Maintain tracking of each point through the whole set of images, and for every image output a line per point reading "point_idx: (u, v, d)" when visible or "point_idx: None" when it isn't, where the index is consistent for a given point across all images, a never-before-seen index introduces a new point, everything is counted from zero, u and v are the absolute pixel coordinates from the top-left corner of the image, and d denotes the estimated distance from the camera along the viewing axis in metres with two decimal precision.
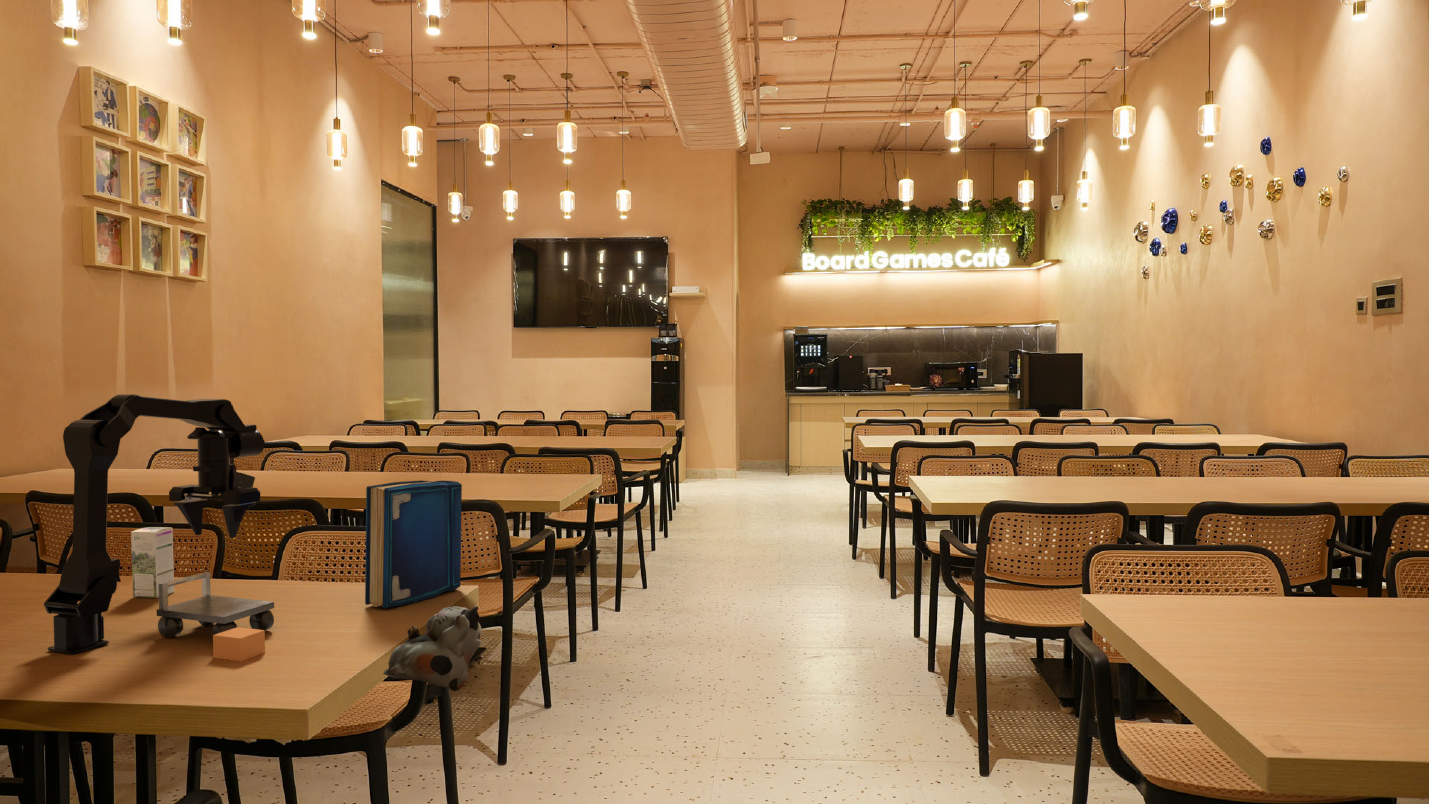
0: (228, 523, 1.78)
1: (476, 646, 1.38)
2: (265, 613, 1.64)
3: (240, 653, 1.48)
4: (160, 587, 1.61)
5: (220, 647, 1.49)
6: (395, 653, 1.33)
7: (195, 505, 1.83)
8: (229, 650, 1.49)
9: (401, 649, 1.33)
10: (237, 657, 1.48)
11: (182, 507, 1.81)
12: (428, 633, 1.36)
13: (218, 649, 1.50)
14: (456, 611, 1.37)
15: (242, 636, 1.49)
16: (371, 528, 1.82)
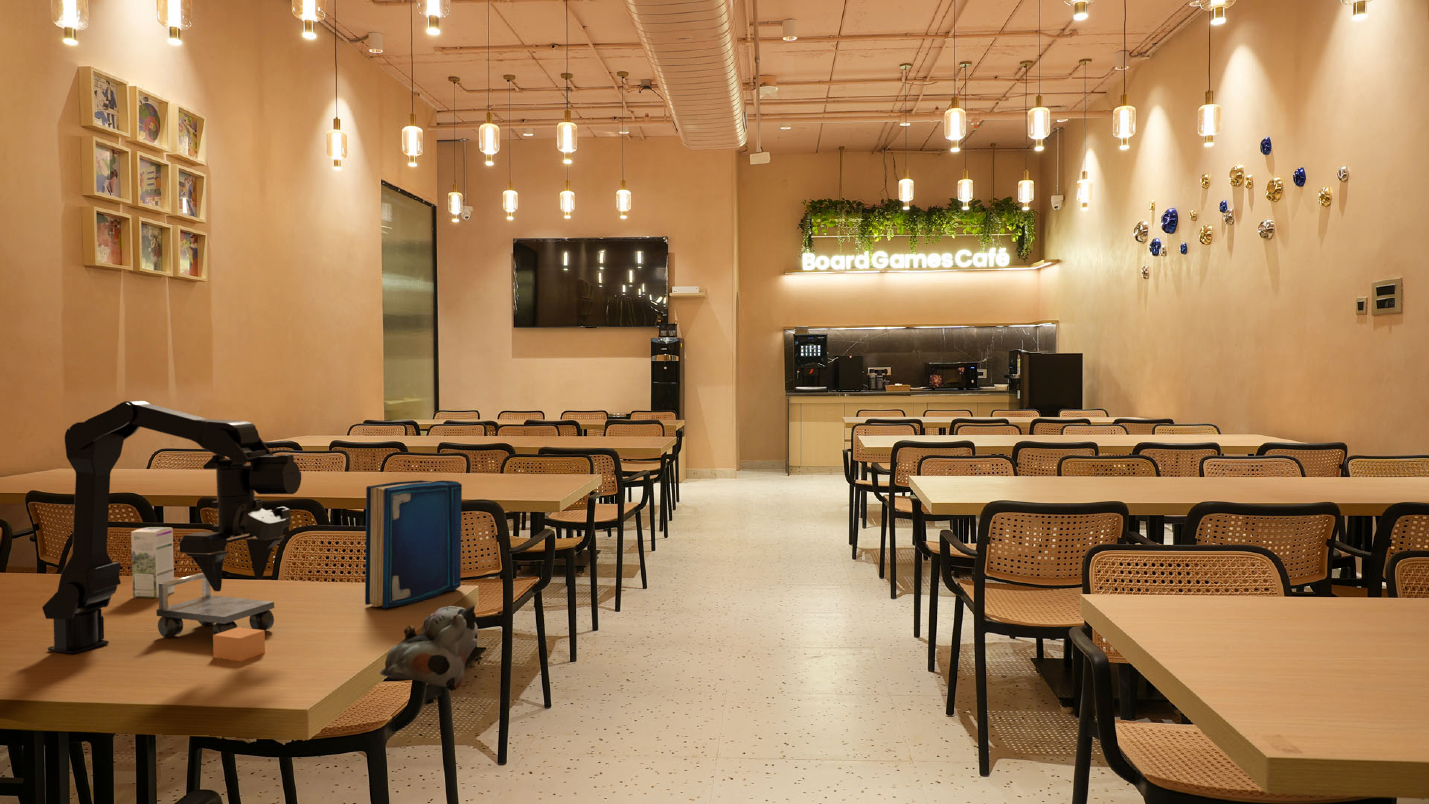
0: None
1: (473, 645, 1.38)
2: (265, 613, 1.64)
3: (240, 653, 1.48)
4: (160, 587, 1.61)
5: (220, 647, 1.49)
6: (392, 653, 1.33)
7: (258, 543, 1.58)
8: (229, 650, 1.49)
9: (398, 648, 1.33)
10: (237, 657, 1.48)
11: None
12: (425, 633, 1.36)
13: (218, 649, 1.50)
14: (453, 611, 1.38)
15: (242, 636, 1.49)
16: (371, 528, 1.82)
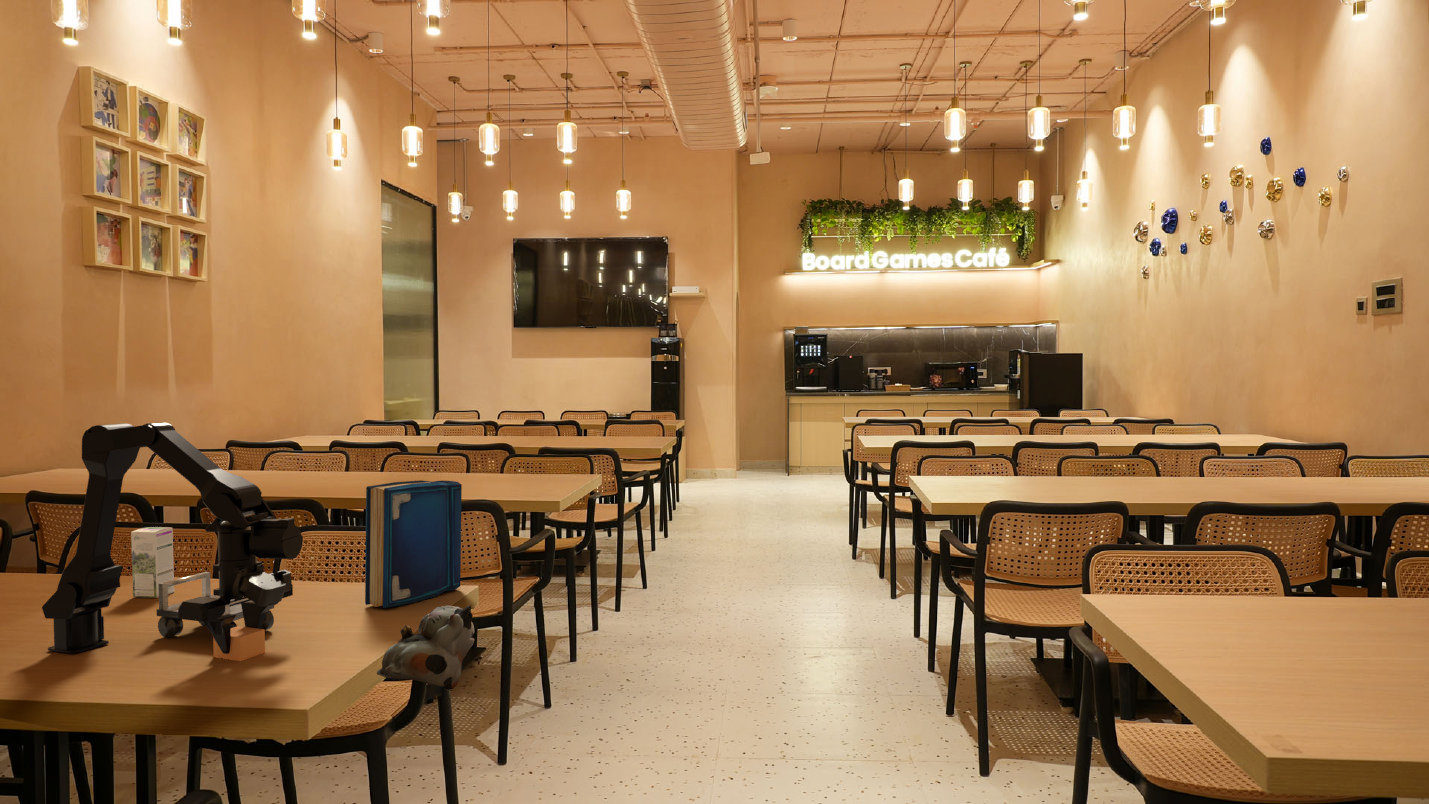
0: None
1: (469, 645, 1.39)
2: None
3: (239, 652, 1.48)
4: (160, 587, 1.61)
5: None
6: (389, 653, 1.33)
7: (252, 608, 1.54)
8: None
9: (395, 648, 1.33)
10: (237, 656, 1.48)
11: None
12: (422, 632, 1.36)
13: (218, 647, 1.50)
14: (449, 610, 1.38)
15: (242, 635, 1.49)
16: (371, 528, 1.82)
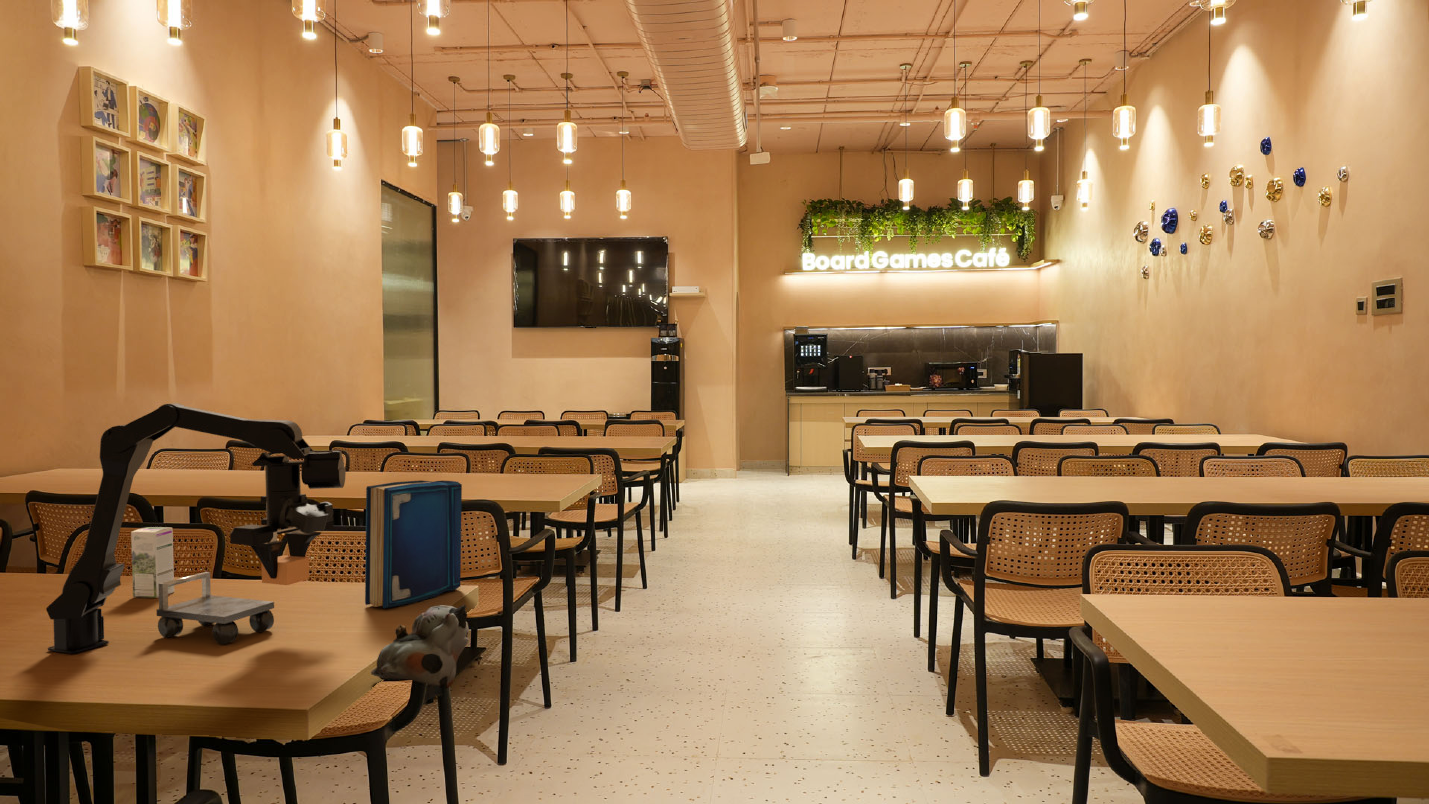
0: None
1: (464, 644, 1.39)
2: (265, 613, 1.64)
3: (286, 577, 1.58)
4: (160, 587, 1.61)
5: None
6: (384, 652, 1.33)
7: (297, 538, 1.65)
8: None
9: (390, 648, 1.33)
10: (284, 581, 1.59)
11: None
12: (416, 632, 1.36)
13: (266, 573, 1.60)
14: (444, 610, 1.38)
15: (288, 561, 1.59)
16: (371, 528, 1.82)
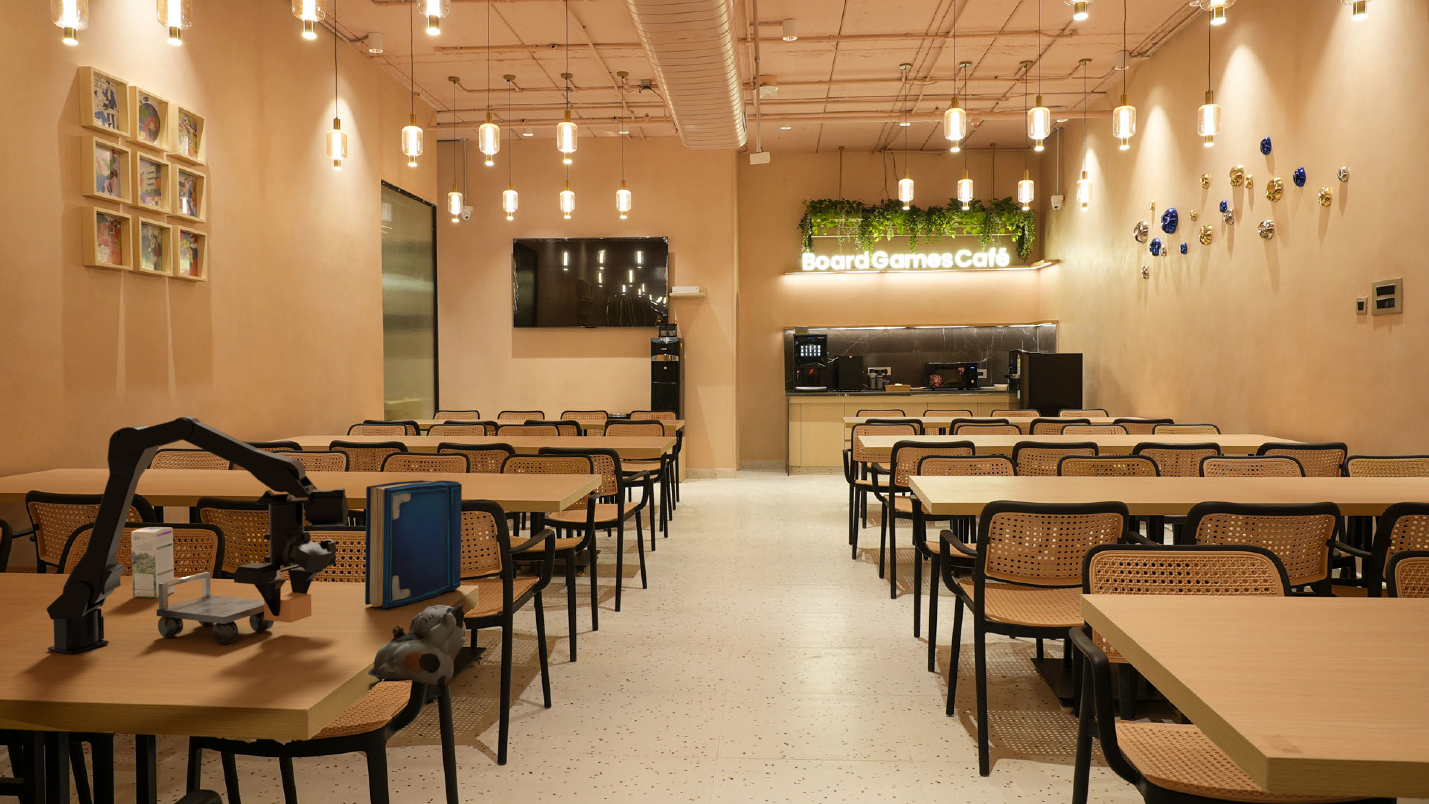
0: None
1: (461, 644, 1.39)
2: None
3: (289, 615, 1.60)
4: (160, 587, 1.61)
5: None
6: (381, 652, 1.33)
7: (299, 575, 1.66)
8: None
9: (388, 648, 1.33)
10: (287, 618, 1.60)
11: None
12: (414, 632, 1.36)
13: (268, 610, 1.61)
14: (441, 609, 1.38)
15: (291, 599, 1.61)
16: (371, 528, 1.82)
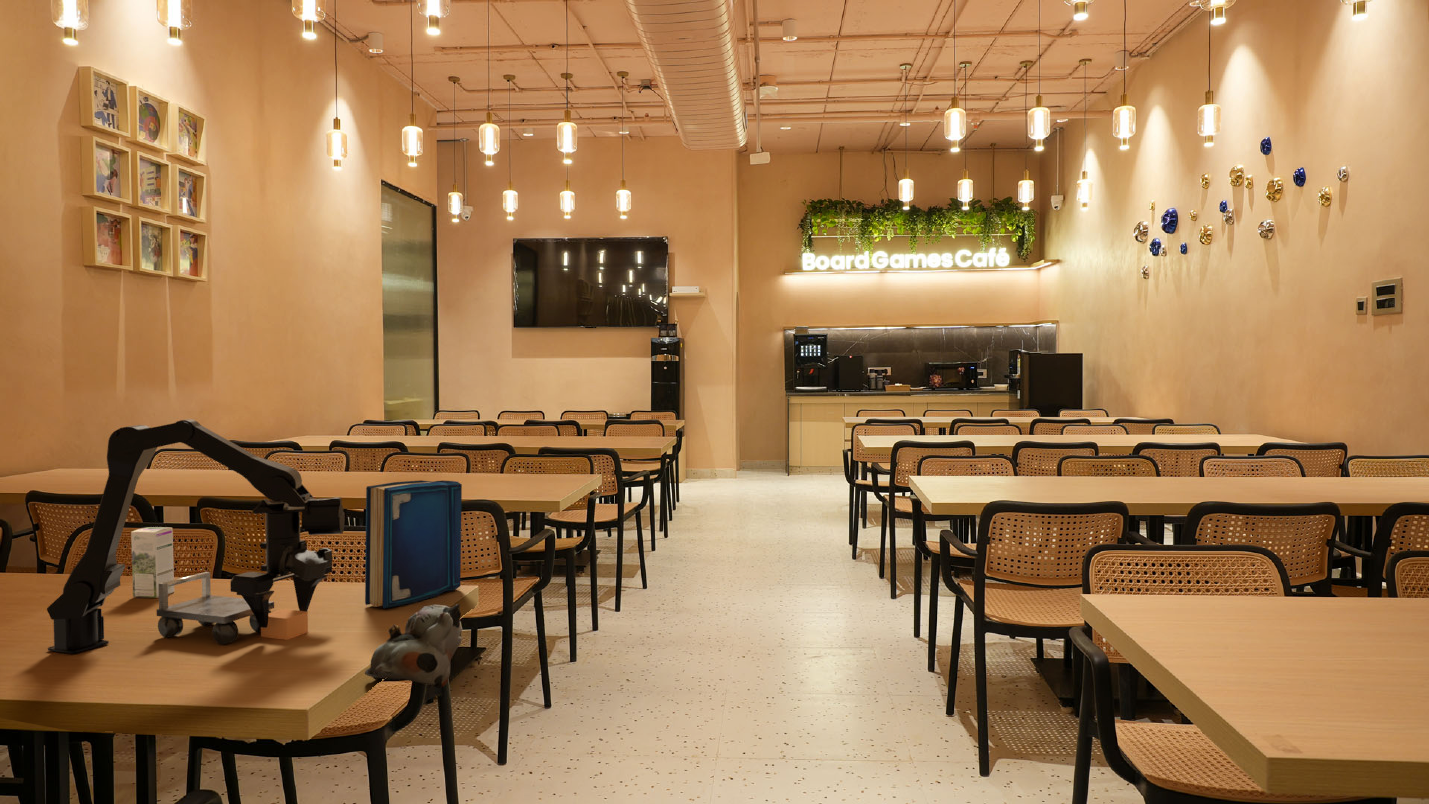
0: None
1: (458, 643, 1.39)
2: None
3: (286, 632, 1.60)
4: (160, 587, 1.61)
5: (267, 627, 1.61)
6: (378, 652, 1.33)
7: (303, 581, 1.68)
8: (276, 629, 1.61)
9: (385, 648, 1.33)
10: (283, 636, 1.60)
11: None
12: (410, 632, 1.36)
13: (265, 628, 1.62)
14: (438, 609, 1.39)
15: (288, 617, 1.61)
16: (371, 528, 1.82)
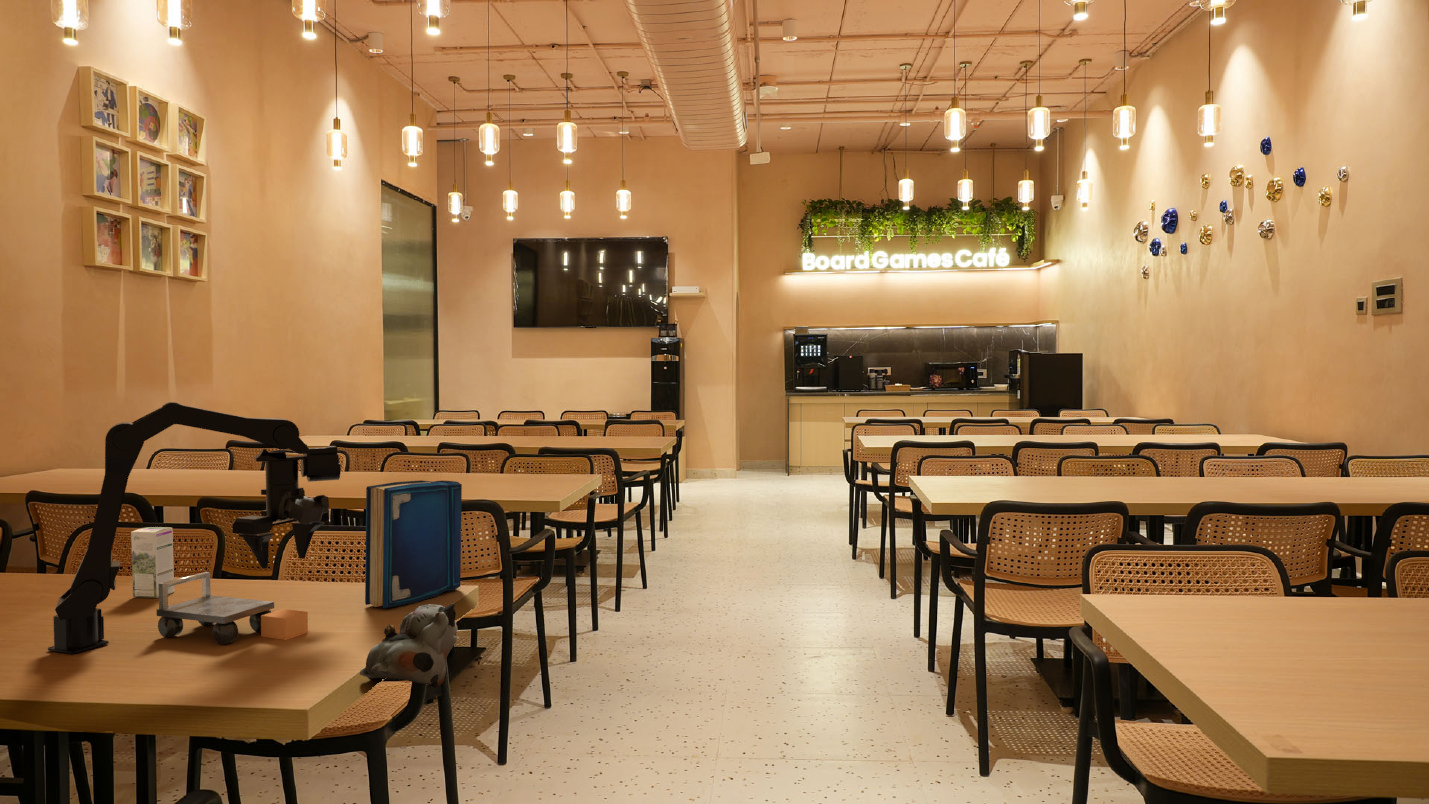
0: None
1: (453, 642, 1.40)
2: (265, 613, 1.64)
3: (285, 632, 1.60)
4: (160, 587, 1.61)
5: (267, 626, 1.62)
6: (374, 652, 1.33)
7: (302, 527, 1.78)
8: (275, 629, 1.61)
9: (380, 647, 1.34)
10: (283, 636, 1.60)
11: None
12: (406, 631, 1.37)
13: (265, 628, 1.62)
14: (433, 609, 1.39)
15: (287, 617, 1.61)
16: (371, 528, 1.82)
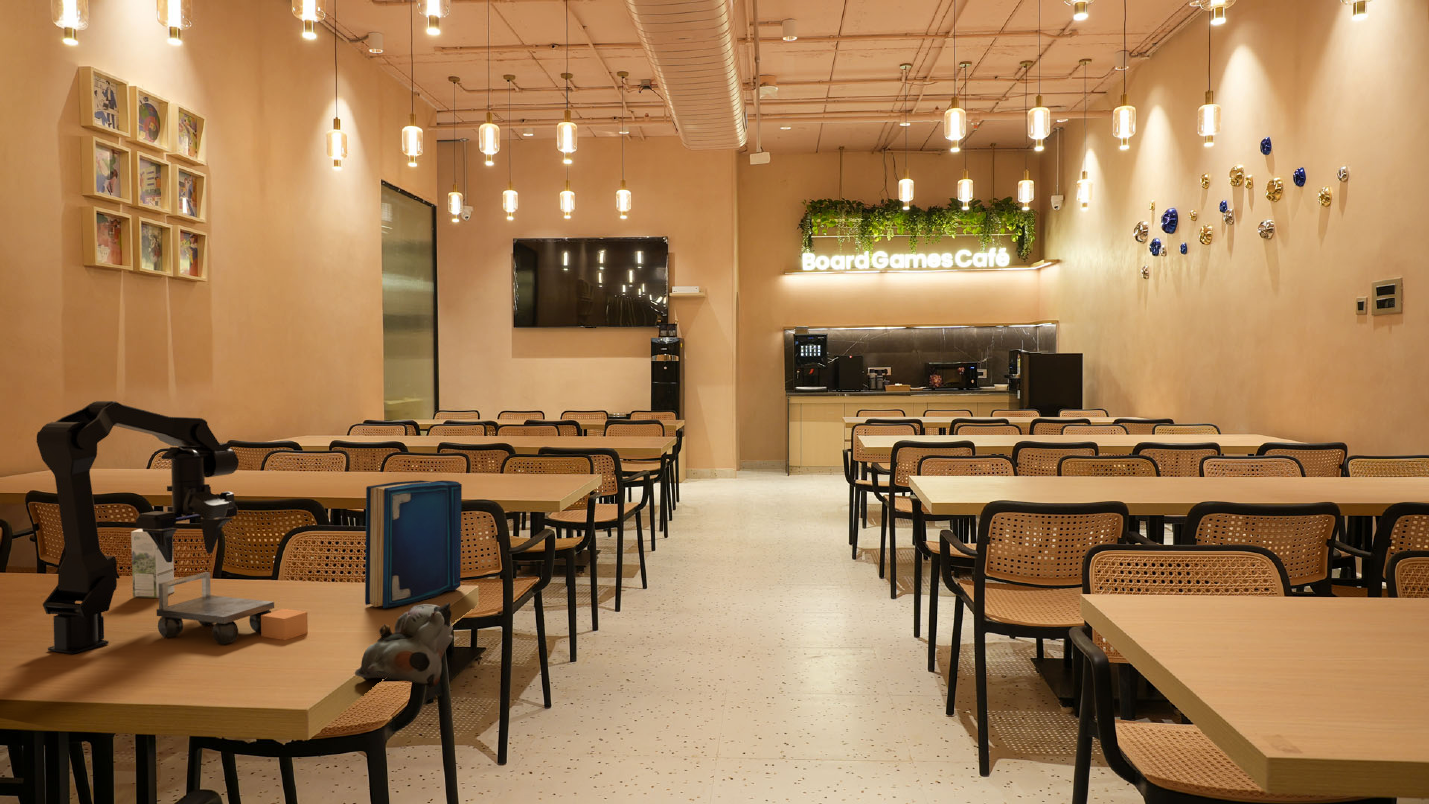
0: None
1: (449, 642, 1.40)
2: (265, 613, 1.64)
3: (284, 633, 1.60)
4: (160, 587, 1.61)
5: (267, 626, 1.62)
6: (370, 652, 1.34)
7: (210, 523, 1.83)
8: (274, 629, 1.61)
9: (376, 647, 1.34)
10: (282, 636, 1.60)
11: None
12: (401, 631, 1.37)
13: (265, 628, 1.62)
14: (428, 608, 1.39)
15: (286, 617, 1.61)
16: (371, 528, 1.82)
